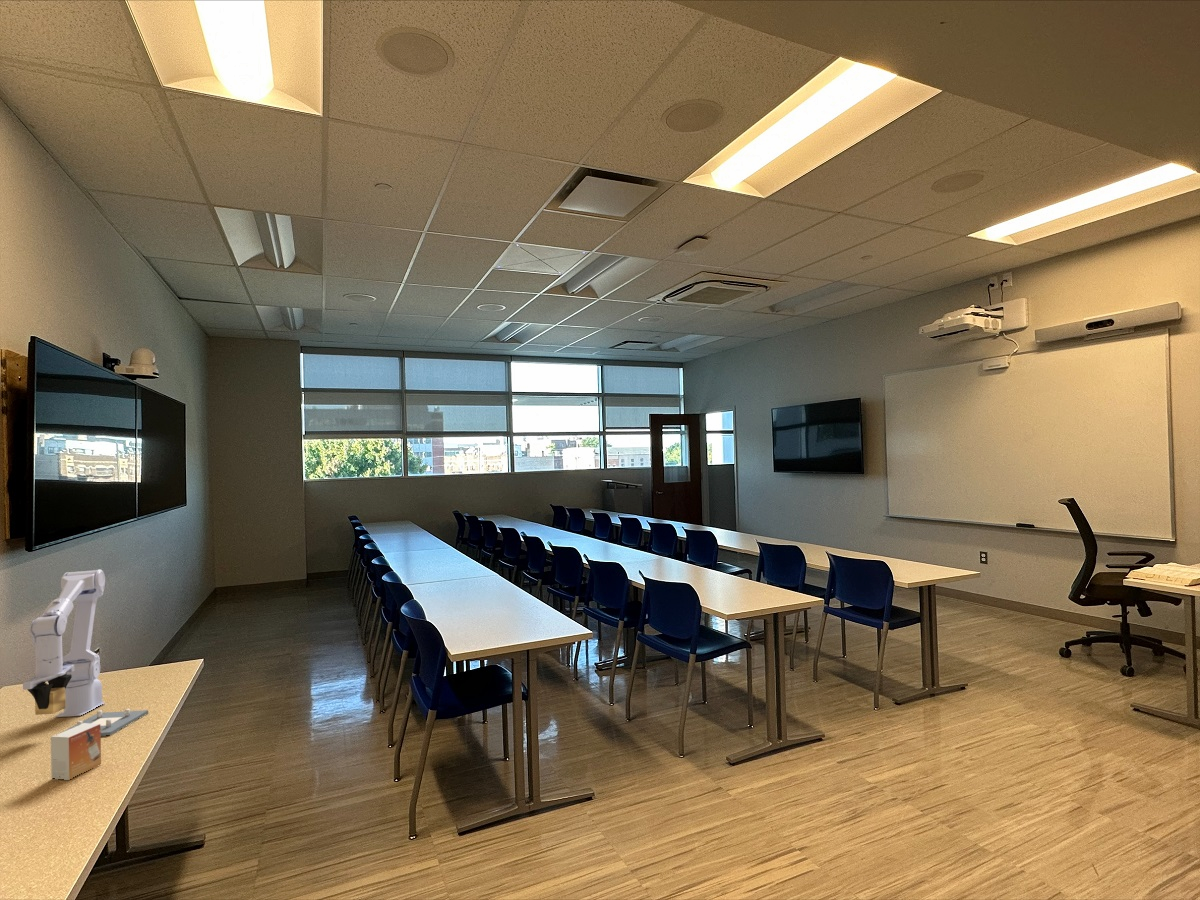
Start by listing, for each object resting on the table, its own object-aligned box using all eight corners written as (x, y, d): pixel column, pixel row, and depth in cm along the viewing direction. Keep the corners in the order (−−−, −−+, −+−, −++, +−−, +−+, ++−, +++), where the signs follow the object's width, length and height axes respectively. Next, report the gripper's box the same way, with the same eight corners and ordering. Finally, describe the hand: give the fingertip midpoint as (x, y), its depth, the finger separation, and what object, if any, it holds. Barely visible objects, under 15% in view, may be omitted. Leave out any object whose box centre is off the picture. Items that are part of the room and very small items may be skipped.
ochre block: (47, 708, 173) (47, 688, 174) (65, 708, 174) (65, 687, 174) (35, 714, 169) (34, 693, 170) (53, 713, 170) (53, 692, 170)
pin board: (98, 716, 184) (98, 706, 184) (148, 713, 185) (148, 703, 185) (56, 738, 169) (55, 728, 169) (110, 735, 170) (110, 725, 170)
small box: (68, 781, 145) (67, 737, 145) (50, 779, 146) (49, 736, 146) (102, 764, 153) (101, 723, 153) (84, 763, 154) (83, 722, 154)
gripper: (40, 665, 165) (42, 715, 164) (84, 649, 179) (85, 694, 179) (14, 667, 164) (15, 716, 164) (60, 650, 179) (61, 695, 179)
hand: (50, 705), depth 172 cm, fingers closed on ochre block, 4 cm apart
